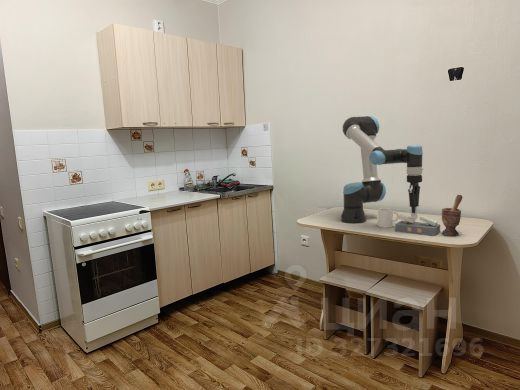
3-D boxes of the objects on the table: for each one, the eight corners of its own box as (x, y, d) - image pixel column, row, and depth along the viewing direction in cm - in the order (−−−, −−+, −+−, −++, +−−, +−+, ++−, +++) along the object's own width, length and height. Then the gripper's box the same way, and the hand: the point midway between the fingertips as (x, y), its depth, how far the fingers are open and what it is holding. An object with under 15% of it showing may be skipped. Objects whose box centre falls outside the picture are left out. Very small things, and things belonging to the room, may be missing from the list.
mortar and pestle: (445, 230, 195) (446, 193, 192) (463, 232, 189) (464, 194, 186) (439, 235, 186) (440, 196, 183) (457, 237, 181) (459, 197, 178)
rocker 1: (398, 218, 199) (398, 215, 199) (400, 217, 202) (401, 214, 201) (413, 223, 194) (413, 219, 194) (415, 221, 197) (415, 218, 197)
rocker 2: (419, 219, 192) (420, 216, 191) (421, 218, 195) (422, 215, 194) (434, 226, 188) (436, 222, 187) (436, 224, 190) (437, 221, 190)
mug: (396, 229, 202) (396, 211, 201) (375, 226, 210) (375, 210, 209) (401, 226, 208) (401, 209, 207) (381, 224, 216) (381, 207, 215)
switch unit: (395, 231, 198) (395, 221, 197) (401, 227, 205) (401, 218, 205) (434, 236, 185) (435, 226, 184) (440, 231, 193) (440, 221, 192)
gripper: (418, 176, 185) (417, 221, 188) (425, 173, 195) (425, 216, 198) (403, 175, 189) (402, 220, 193) (411, 173, 199) (410, 215, 203)
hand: (414, 218), depth 195 cm, fingers closed
